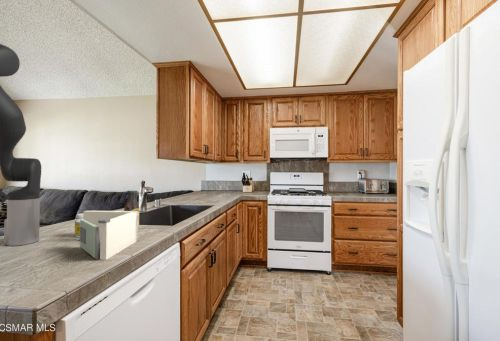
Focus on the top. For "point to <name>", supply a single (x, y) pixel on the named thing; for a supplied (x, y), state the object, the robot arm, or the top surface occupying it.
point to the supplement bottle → (78, 225)
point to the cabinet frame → (114, 230)
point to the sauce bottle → (132, 203)
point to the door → (89, 238)
